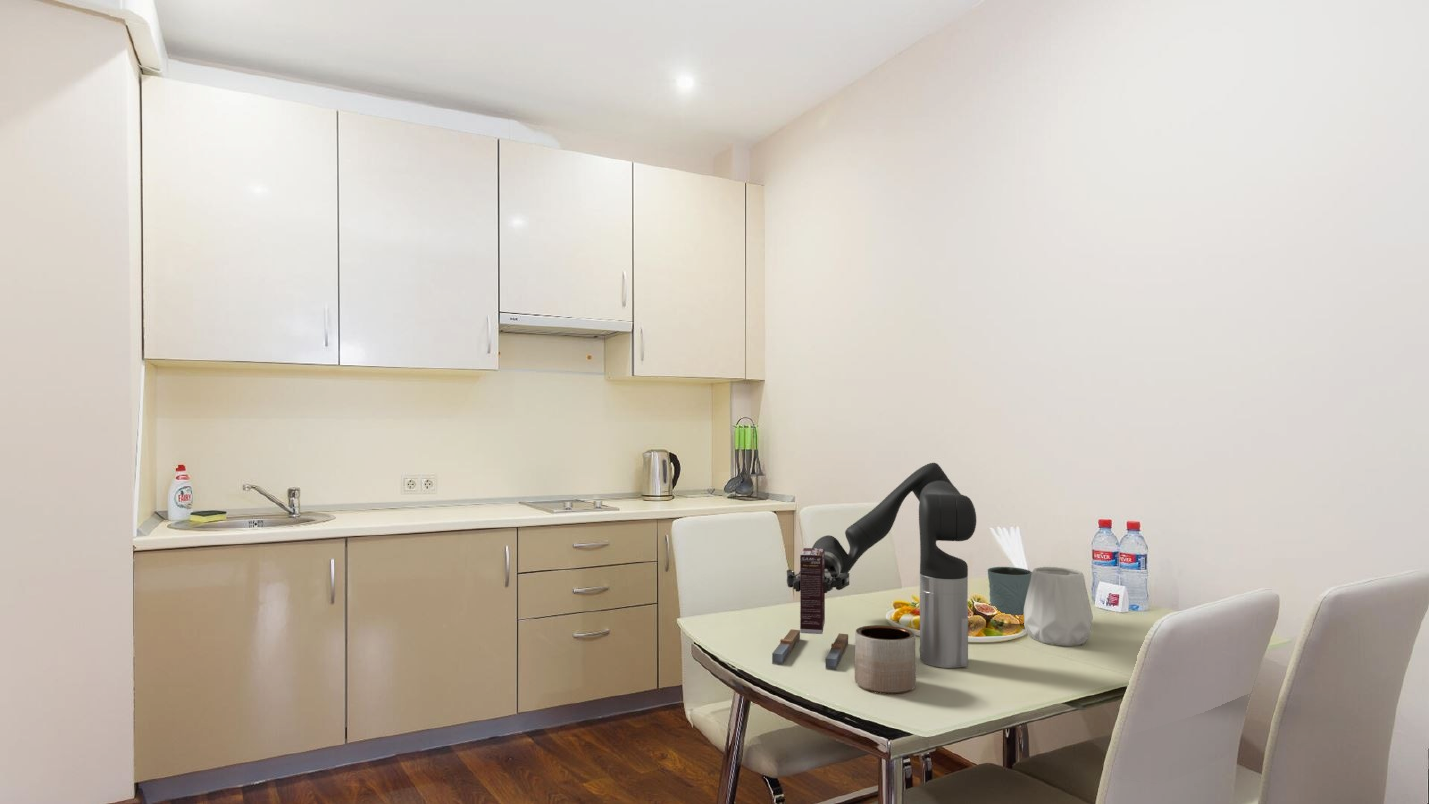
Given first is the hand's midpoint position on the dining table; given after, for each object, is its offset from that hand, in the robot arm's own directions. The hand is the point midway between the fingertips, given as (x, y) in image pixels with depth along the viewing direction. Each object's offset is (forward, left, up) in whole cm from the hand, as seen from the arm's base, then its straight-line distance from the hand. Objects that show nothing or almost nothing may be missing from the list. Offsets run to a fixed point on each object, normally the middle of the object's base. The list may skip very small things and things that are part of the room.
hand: (810, 587), depth 162 cm
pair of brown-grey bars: (0, -2, -14) cm, 14 cm away
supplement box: (0, -3, -9) cm, 10 cm away
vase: (-50, -30, -14) cm, 60 cm away
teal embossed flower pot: (-41, -45, -14) cm, 62 cm away
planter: (-16, +13, -14) cm, 25 cm away
